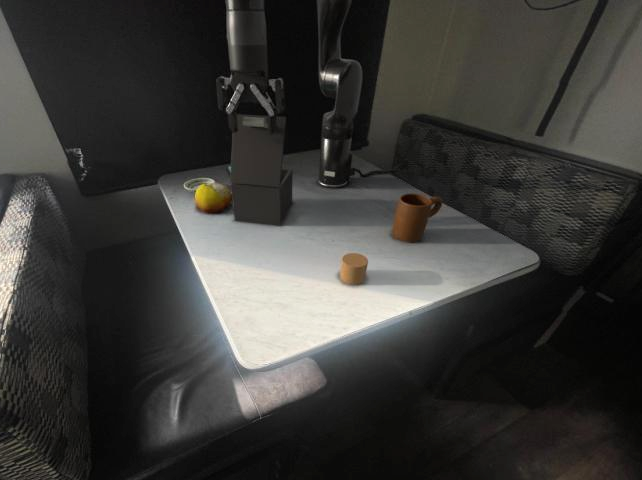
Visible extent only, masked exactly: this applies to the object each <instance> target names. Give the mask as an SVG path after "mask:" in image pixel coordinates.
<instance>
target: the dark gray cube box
mask: <svg viewBox="0 0 642 480" xmlns="http://www.w3.org/2000/svg"><path fill="white" fill-rule="evenodd" d="M230 191H231V194H232V207H233V216H234V221H235V222H242V223H243V222H244V223H252V224H261V225H271V226H279V227H281V226H282V224H283V221H284V220H285V218H286V215H287V214H288V212H289V210H290V208H291V206H292V205H293V168H283V167H282V172H281V184H280V188H279V187H268V186H257V185H246V184H235V183H230Z"/></svg>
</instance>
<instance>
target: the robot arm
mask: <svg viewBox="0 0 642 480" xmlns="http://www.w3.org/2000/svg"><path fill="white" fill-rule="evenodd" d="M315 1H316V15H317V18H316V19H317V34H318V37H317V38H318V59H317V60H318V61H317V63H318V69H317V70H318V71H317V73H318V75H317V76H318V84H319V89H320V91H321V93H322V94H323V96H325V97H328V98H331V99H335V102H334V107H333V109H332V110H331V111H327V112H324V114H323V115H322V120H321V136H320V153H319V167H318V168H319V169H318V178H317V179H318V180H317V181H318V182H317V183H318V184H319V185H320V186H322V187H325V188H332V189H336V188H337V189H339V188H342V187H345V186H347V184H350V179H351V177H352V176H355V175H356V174H355V173H356V172H357V173H358V174H359V176H360V177H368V176H370V175H372V174H389V173H394V172H395V171H397V170H398V169H399V170H403V167H402V166H401V165H397V166H395V167H394V168H393V169H389V170H388V169H387V170H385V169H384V170H383V169H378V170H377V169H376V170H371V171H369V172H366V173H362V171H361V170H360V169H358V168H356V167H355V166H353V165H352V161H353V152H352V151H351V149H352V140H353V131H354V123H355V119H356V117H357V114H358V111H359V110H358V109H359V104H360V98H361V93H362V86H363V68H362V66H361V64H360V62H359V61H357V60H354V59H347V58H342V50H341V47H342V46H341V43H342V41H341V40H342V31H343V27H344V23H345V21H346V18H347V15H348V13H349V10H350V8H351V4H352V1H353V0H315ZM225 10H226V22H225V23H226V41H227V47H228V49H227V50H228V59H229V69H230V77H226V76H225V75H221V76H219V77H217V78H216V79H215V80H216V81H215V82H216V94H217V107H218V110H219V111H223V112H225V113H226V114H227V119H228V120H227V121H228V128H229V130H231V133H232V134H233V133H236V132H237V131H238V124H237V112H236V110H237V108H238V106H239V105H240V103H241V102H242V103H253V104H258V103H259V104H260V105H261V107H263V108H264V109H265V110H266V112H267V116H268V133H269V135H272V134H273V133H274V132H275V131H276V128H277V125H276V116H277V115H278V114H282V112H284V111H285V110H286V103H285V85H284V83H285V82H284V79H283V78H282V77H278V78H277V79H275V78H274V79H273V78H272V79H270V77H269V73H268V71H269V68H268V67H269V65H268V37H267V23H266V13H265V0H225ZM229 87H231V89H232V90H233V92H234V94H233V95H232V97H231V99H230V102H229V103H228V92H227V90H228V89H229ZM270 87H271V89H272V91H273V92H274V93H275V105H274V103H273V101H272V98H271V97H270V95H269V94H268V90H269V88H270Z"/></svg>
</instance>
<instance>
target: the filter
mask: <svg viewBox="0 0 642 480" xmlns="http://www.w3.org/2000/svg"><path fill="white" fill-rule="evenodd" d="M368 265H369V259H368V257H367V256H366V255H364V254H361V253H357V252H348V253H345V254H344V255H343V256H342V258H341V265H340V271H339V272H340V273H339V278H340V280H341V281H342V282H343V283H345V284H347V285H352V286H357V285H360V284H362V283H364V282H365V280H366V275H367V269H368Z"/></svg>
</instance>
